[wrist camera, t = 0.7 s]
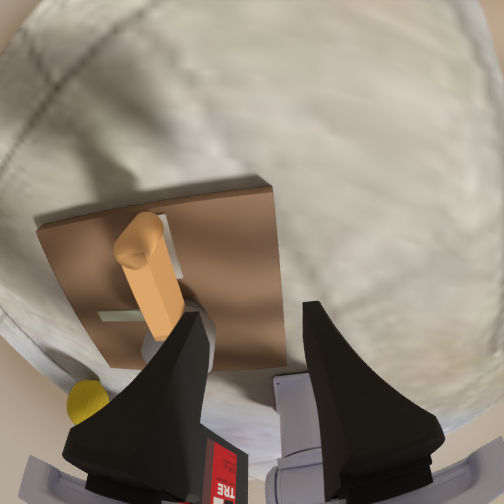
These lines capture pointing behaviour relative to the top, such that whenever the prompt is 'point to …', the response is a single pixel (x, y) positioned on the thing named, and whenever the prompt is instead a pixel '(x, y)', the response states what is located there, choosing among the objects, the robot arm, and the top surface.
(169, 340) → the robot arm
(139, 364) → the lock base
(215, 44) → the top surface
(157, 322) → the orange and grey bar
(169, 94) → the top surface
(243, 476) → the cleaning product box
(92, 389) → the lemon
